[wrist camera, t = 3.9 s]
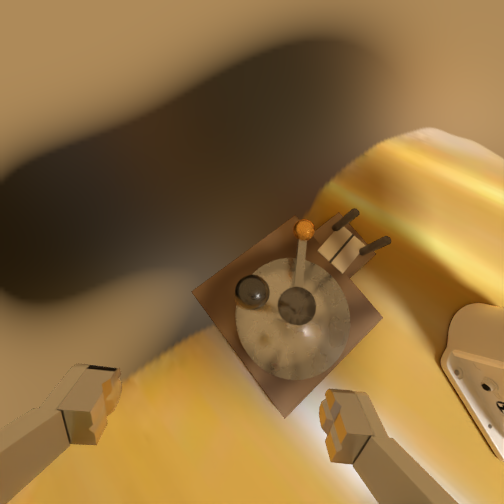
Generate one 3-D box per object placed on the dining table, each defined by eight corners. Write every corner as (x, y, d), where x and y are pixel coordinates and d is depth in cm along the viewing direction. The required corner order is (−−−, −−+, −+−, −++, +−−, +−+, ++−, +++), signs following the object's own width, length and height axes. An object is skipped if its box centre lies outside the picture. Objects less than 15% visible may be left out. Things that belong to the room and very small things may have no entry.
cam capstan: (347, 234, 38) (397, 202, 27) (342, 384, 32) (404, 418, 21) (245, 215, 37) (254, 174, 26) (219, 367, 31) (218, 395, 20)
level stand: (400, 292, 39) (443, 286, 31) (280, 412, 32) (299, 442, 24) (318, 200, 42) (340, 173, 34) (192, 293, 35) (184, 286, 27)
